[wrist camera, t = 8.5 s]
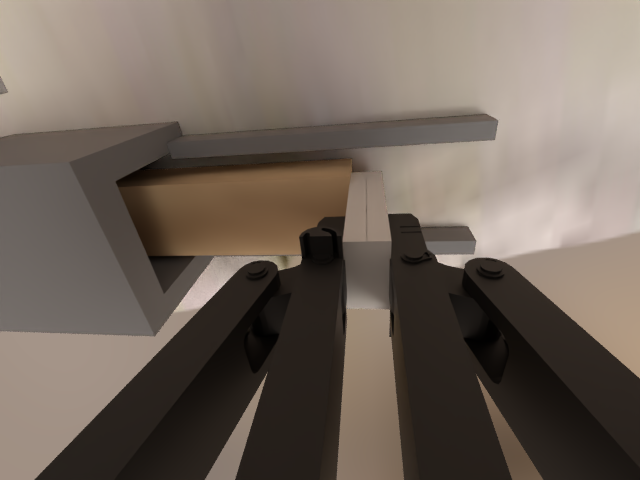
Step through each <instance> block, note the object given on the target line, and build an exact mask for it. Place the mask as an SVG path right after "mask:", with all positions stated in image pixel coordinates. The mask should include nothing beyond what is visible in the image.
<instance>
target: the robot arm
mask: <svg viewBox="0 0 640 480" xmlns="http://www.w3.org/2000/svg"><path fill="white" fill-rule="evenodd" d="M299 240H300V247H301V254H302V261H301V264H300V265H298V266H296V267H293V268H289V269H284V270H279V271H278V267H277V265H276V264H274V263H273V262H270V261H254V262H251V263H249V264H246V265H244V266H243V267H242V268H240V269H239V270H238V271H237V272H236V273H235V274H234V275H233V276H232V277H231V278H230V279H229V280H228V281H227V282H226V283H225V284H224V286H223V287H222V288H221V289H220V290H219V291H218V292H217V293H216V294H215V295H214V296H213V297H212V298H211V299H210V300H209V301H208V302H207V303H206V304H205V305H204V306H203V307H202V308H201V309H200V310H199V311H198V312H197V313H196V314H195V315H194V316H193V318H191V319H190V321H189V322H188V323H187V324H186V325H185V326H184V327H183V328H182V329H181V330H180V331H179V332H178V333H177V334H176V335H175V336H174V337H173V338H172V339H171V340H170V341H169V342H168V343H167V344H166V345H165V346H164V347H163V348H162V349H161V350H160V351H159V352H158V353H157V354H156V355H155V356H154V357H153V359H152V360H151V361H150V362H149V363H148V364H147V365H146V366H145V367H144V368H143V369H142V370H141V371H140V372H139V373H138V374H137V375H136V376H135V377H134V378H133V379H132V380H131V381H130V382H129V383H128V384H127V385H126V386H125V387H124V388H123V389H122V390H121V391H120V392H119V394H118V395H117V396H116V397H115V398H114V399H113V400H112V401H111V402H110V403H109V404H108V405H107V406H106V407H105V408H104V409H103V410H102V411H101V412H100V413H99V414H98V415H97V416H96V417H95V418H94V419H93V420H92V421H91V422H90V423H89V424H88V425H87V426H86V427H85V428H84V429H83V431H81V433H79V435H78V436H77V437H76V438H75V439H74V440H73V441H72V442H71V443H70V444H69V445H68V446H67V447H66V448H65V449H64V450H63V451H62V452H61V453H60V454H59V455H58V456H57V457H56V458H55V459H54V460H53V461H52V462H51V463H50V464H49V465H48V466H47V467H46V468H45V470H43V472H42V473H41V474H40V475H39V476H38V477H37V478H36V479H35V480H205V478H206V476H207V475H208V473H209V471H210V470H211V468H212V466H213V465H214V463H215V461H216V460H217V458H218V456H219V454H220V453H221V451H222V449H223V448H224V446H225V444H226V442H227V441H228V439H229V437H230V435H231V434H232V432H233V430H234V429H235V427H236V425H237V424H238V422H239V420H240V418H241V417H242V415H243V413H244V412H245V410H246V408H247V406H248V405H249V403H250V401H251V400H252V398H253V396H254V394H255V393H256V391H257V389H258V388H259V386H260V384H261V382H262V381H263V379H264V377H265V376H266V374H267V376H266V380H265V383H264V386H263V390H262V393H261V396H260V400H259V403H258V407H257V409H256V413H255V416H254V419H253V423H252V426H251V429H250V433H249V436H248V439H247V442H246V446H245V449H244V452H243V456H242V459H241V462H240V466H239V469H238V472H237V476H236V479H235V480H336V476H337V462H338V447H339V432H340V415H341V402H342V386H343V371H344V356H345V340H346V326H347V325H346V324H347V315H346V314H347V313H346V304H347V309H390V337H391V338H392V349H393V360H394V371H395V382H396V394H397V404H398V415H399V427H400V438H401V449H402V460H403V471H404V480H512V478H511V475H510V472H509V469H508V466H507V463H506V460H505V457H504V455H503V452H502V449H501V446H500V443H499V440H498V437H497V434H496V431H495V428H494V425H493V422H492V420H491V417H490V414H489V411H488V408H487V405H486V402H485V399H484V396H483V393H482V391H481V387H480V384H479V382H478V379H477V376H478V377H479V379H480V380H481V382H482V384H483V385H484V387H485V388H486V390H487V391H488V393H489V394H490V396H491V398H492V399H493V401H494V402H495V404H496V406H497V407H498V409H499V410H500V412H501V414H502V415H503V417H504V418H505V420H506V421H507V423H508V425H509V426H510V427H511V429H512V431H513V432H514V434H515V435H516V437H517V439H518V440H519V442H520V443H521V445H522V447H523V448H524V450H525V451H526V453H527V454H528V456H529V458H530V459H531V461H532V462H533V464H534V466H535V467H536V469H537V470H538V472H539V473H540V475H541V476H542V478H543V480H640V378H639V377H637V376H636V375H635V374H634V373H633V372H631V370H629V369H628V368H627V367H626V366H625V365H624V364H622V363H621V362H620V361H619V360H618V359H617V358H616V357H615V356H613V355H612V354H611V353H610V352H609V351H608V350H607V349H605V348H604V347H603V346H602V345H601V344H600V343H599V342H597V341H596V340H595V339H594V338H593V337H592V336H590V335H589V334H588V333H587V332H586V331H585V330H584V329H583V328H581V327H580V326H579V325H578V324H577V323H576V322H575V321H573V320H572V319H571V318H570V317H569V316H568V315H567V314H565V313H564V312H563V311H562V310H561V309H560V308H559V307H558V306H556V305H555V304H554V303H553V302H552V301H551V300H550V299H548V298H547V297H546V296H545V295H544V294H543V293H542V292H540V291H539V290H538V289H537V288H536V287H535V286H533V285H532V284H531V283H530V282H529V281H528V280H527V279H525V278H524V277H523V276H522V275H521V274H520V273H519V272H518V271H516V270H515V269H514V268H513V267H512V266H510V265H508V264H507V263H505V262H502V261H500V260H497V259H493V258H475V259H472V260H469V261H468V262H467V263H466V264H465V268H464V269H461V268H456V267H451V266H447V265H443V264H441V263H439V262H437V259H436V257H435V255H434V254H433V253H432V252H431V251H429V250H427V247H426V243H425V240H424V237H423V234H422V231H421V228H420V224H419V221H418V219H417V218H416V217H414V216H413V215H412V214H388V212H387V205H386V198H385V191H384V184H383V176H382V171H372V172H352V173H351V177H350V184H349V192H348V201H347V209H346V216H338V217H324V218H323V219H322V220H321V221H319V222H318V225H317V227H313V228H310V229H307V230H305V231H304V232H302V233H301V235H300V236H299ZM267 372H268V373H267ZM476 374H477V376H476Z"/></svg>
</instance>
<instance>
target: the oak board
mask: <svg viewBox="0 0 640 480" xmlns="http://www.w3.org/2000/svg"><path fill="white" fill-rule="evenodd" d="M351 173H352V158H349V159H331V160H313V161H295V162H277V163H259V164H240V165H222V166H204V167H186V168H168V169H150V170H136V171H134V172H132V173H130V174H128V175H126V176H124V177H123V178H121V179H119V180H117V181H115V182H116V184H117V187H118V189H119V191H120V193H121V196H122V198H123V200H124V203H125V205H126V207H127V210H128V212H129V214H130V217H131V219H132V221H133V224H134V226H135V228H136V230H137V233H138V235H139V237H140V240H141V242H142V244H143V247H144V249H145V251H146V254H147V256H200V255H302V254H301V247H300V240H299V236H300V235H301V233H302V232H304V231H305V230H307V229H310V228H313V227H317V225H318V222H319V221H321V220H322V219H323V218H324V217H338V216H346V209H347V201H348V192H349V184H350V177H351Z"/></svg>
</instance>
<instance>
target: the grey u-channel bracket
mask: <svg viewBox="0 0 640 480" xmlns="http://www.w3.org/2000/svg"><path fill="white" fill-rule="evenodd" d="M497 125H498V120H497V119H495V118H493V117H491V116H489V115H487V114H483V115H469V116H454V117H440V118H426V119H412V120H398V121H384V122H369V123H355V124H341V125H327V126H313V127H299V128H285V129H270V130H256V131H242V132H228V133H214V134H200V135H185V136H182V134H181V131H180V128H179V124H178V122H169V123H156V124H143V125H130V126H117V127H105V128H92V129H79V130H66V131H53V132H40V133H28V134H15V135H10V136H6V137H2V138H0V331H13V332H43V333H44V332H45V333H72V334H103V335H132V336H156V334H157V333H158V332H159V330H160V329H161V327H162V326H163V325H164V323H165V322H166V321H167V319H168V318H169V316H170V315H171V314H172V313H173V311H174V310H175V309H176V307H177V306H178V305H179V303H180V302H181V300H182V299H183V298H184V296H185V295H186V294H187V292H188V291H189V290H190V288H191V287H192V286H193V284H194V283H195V282H196V280H197V279H198V278H199V276H200V275H201V273H202V272H203V271H204V269H205V268H206V267H207V265H208V264H209V263H210V261H211V260H212V259H213V257H214V256H302V255H200V256H147V254H146V251H145V249H144V247H143V244H142V242H141V240H140V237H139V235H138V233H137V230H136V228H135V226H134V224H133V221H132V219H131V217H130V214H129V212H128V210H127V207H126V205H125V203H124V200H123V198H122V196H121V193H120V191H119V189H118V187H117V184H116V182H115V181H117V180H119V179H121V178H123V177H124V176H126V175H128V174H130V173H132V172H134V171H136V170H138V169H140V168H142V167H144V166H146V165H148V164H150V163H152V162H154V161H155V160H157V159H159V158H161V157H163V156H165V155H167V154H169V153H170V155H171V158H172V159H181V158H198V157H215V156H232V155H249V154H266V153H283V152H300V151H317V150H334V149H351V148H368V147H385V146H402V145H419V144H436V143H453V142H470V141H487V140H495V136H496V131H497ZM421 231H422V234H423V237H424V240H425V243H426V247H427V250H429V251H431V252H432V253H433V254H434V255H438V254H474V251H475V245H476V240H475V238H474V236H473V234H472V233H471V231H470V229H469V228H468V227H440V228H421Z"/></svg>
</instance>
